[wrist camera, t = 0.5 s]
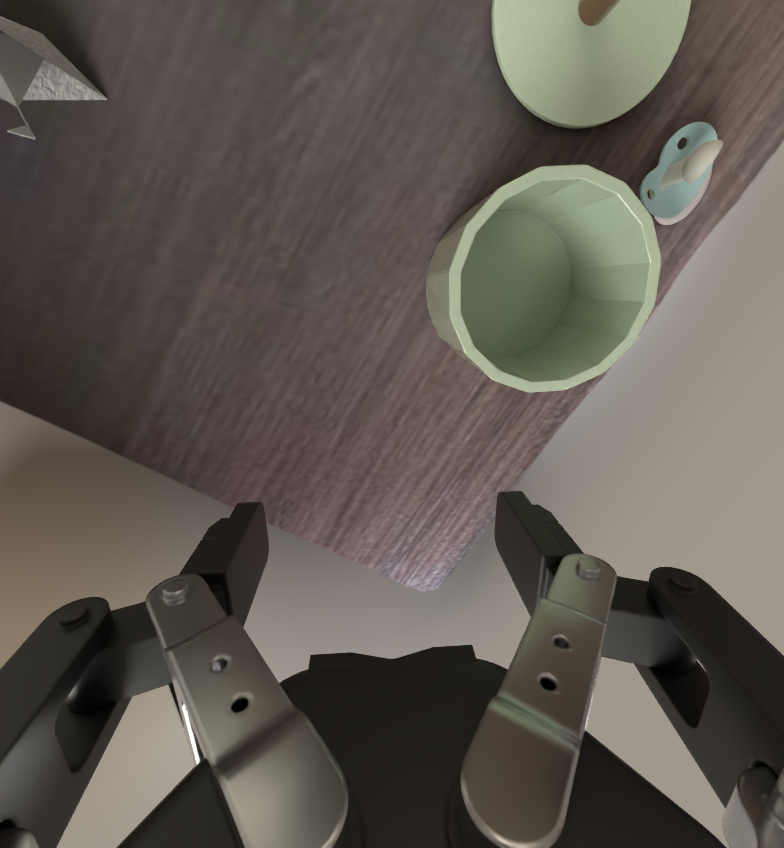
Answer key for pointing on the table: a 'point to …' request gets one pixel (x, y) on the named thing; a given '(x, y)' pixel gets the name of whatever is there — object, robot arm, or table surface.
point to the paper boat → (37, 71)
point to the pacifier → (681, 173)
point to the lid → (585, 54)
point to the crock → (546, 278)
